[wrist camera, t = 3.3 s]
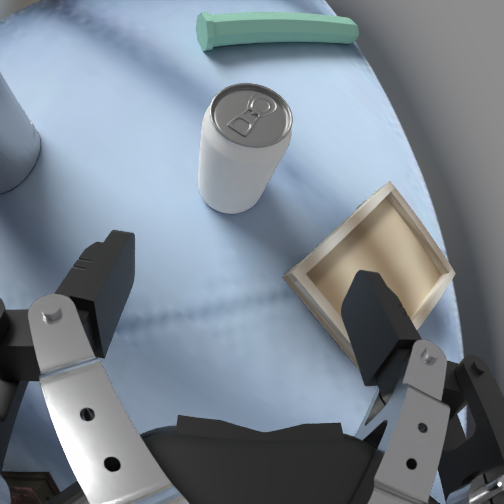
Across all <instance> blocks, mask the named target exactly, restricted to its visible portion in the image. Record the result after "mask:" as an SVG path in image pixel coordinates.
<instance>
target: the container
mask: <svg viewBox="0 0 504 504" xmlns="http://www.w3.org/2000/svg"><path fill="white" fill-rule="evenodd" d="M196 31H197V39H198V42H199V44H200V46H201V49H202V51H208V50H211V49H213V47H218V46H227V45H238V44H251V43H269V42H325V43H343V44H349V43H353V42H355V40H356V39H357V37H358V36H359V32H358V26H357V25H356V24H355V23H354V22H353V21H352V20H351V19H349V18H346V17H338V16H329V15H318V14H305V13H283V12H251V13H229V14H215V15H209V13H208V12H204V13H201V14H199V15H198V16H197V24H196Z"/></svg>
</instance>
